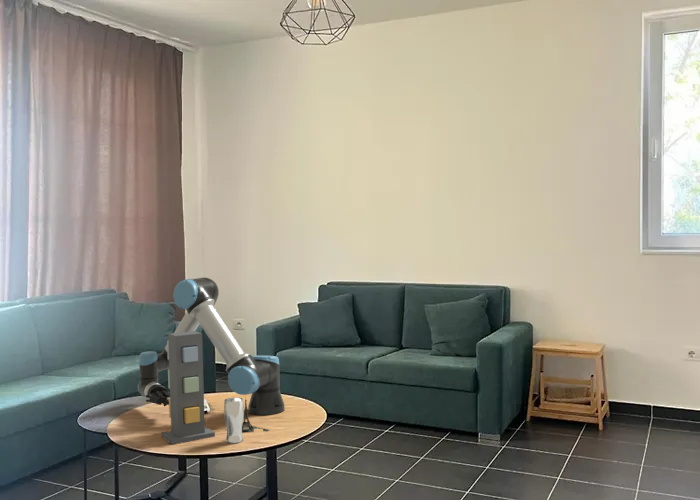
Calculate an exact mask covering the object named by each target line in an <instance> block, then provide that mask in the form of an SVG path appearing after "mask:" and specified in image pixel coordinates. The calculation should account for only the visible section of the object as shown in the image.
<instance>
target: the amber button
mask: <svg viewBox="0 0 700 500" xmlns="http://www.w3.org/2000/svg"><path fill="white" fill-rule="evenodd" d="M168 412H169V413H168V414H169V415H168V417H169V418H170V419H171V408H170V399H169V405H168ZM183 421H184V422H185V423H186V424H188V423H193V422H199V421H200V408H199V407H198V406H191V407H185V408H183Z"/></svg>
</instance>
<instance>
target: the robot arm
mask: <svg viewBox="0 0 700 500" xmlns="http://www.w3.org/2000/svg"><path fill="white" fill-rule="evenodd" d="M219 292H220V291H219V287H218V284H217V283H216V282H215V281H214V280H213V279H211V278H210V277H209V278H208V277H197V278H187V279H184V280H181V281H179V282H178V283H177V284H176V285H175V287H174V290H173V293H172V295H173V296H172V297H173V301H174V303H175V305H176V306H177V307H178V308H179V309H182V310H186V313H185V314H184V316H183V317H182V319H181V321H180V322H179V324H178V326H177V327H176V329H175V330H174V332H173V333H180V332H190V331H196V330H197V328H198V327H199V326H200V327H201V328H202V329H203V331H204V333H205V334H206V336H207V337H208V339H209V340H210V342H211V343H212V345H213V346H214V348H215V349H216V351H217V352H218V354H219V355H220V357H221V358H222V359H223V362H224V363H225V365H226V369H225V371H226V373H227V374H228V376H227V384H228V385H229V388H230V390H232V391H233V392H234V393H236V394H237V395H242V396H246V395H250V399H249V402H248V404H247V405H248V406H247V413H249V414H252V415H255V416H256V415H258V416H265V415H266V416H267V415H268V416H269V415H275V414H276V415H277V414H279V413H282V412H284V411H285V409H286V408H285V402H284V399H283V396H282V394H281V386H280V385H281V384H280V382H281V381H280V379H281V378H280V359H279V357H278V356H275V355H252V354H251V353H246V352H245V351H244V350H243V348H242V346H241V345H240V343H239V342H238V340H237V339H236V337H235V335H234V334H233V333H232V331H231V330H230V329H229V327H228V325H227V324H226V322H225V320H223V318H222V316H221V315H220V314H219V312H218V310H217V308H216V307H215V305H216V303H217V300H218V297H219ZM196 332H197V331H196ZM138 359H139V360H138V361H139V362H138V365H139V366H138V367H139V382H138V384H137V391H138V393H139V394H140V396H142V397H144V398H145V402H147V403H153V404H156V405H158V406H159V405H160V406H161V405H162V404H163V407H167V406H169V399H170V390H167V388H166V386H164V385H162V384H160V383H159V372H162V371H166V370H169V360H168V354H167V344H166V346H165V347H164V349H162V352H160V353H158V352H157V351H151V350H150V351H143V352H141V353H140V354H139V358H138Z"/></svg>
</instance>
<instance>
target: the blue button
mask: <svg viewBox="0 0 700 500" xmlns="http://www.w3.org/2000/svg"><path fill="white" fill-rule="evenodd" d="M166 345H167V354H168V360H169V341H168V340H166ZM181 353H182V362H193V361H198V347H196V346H185V347H181Z"/></svg>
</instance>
